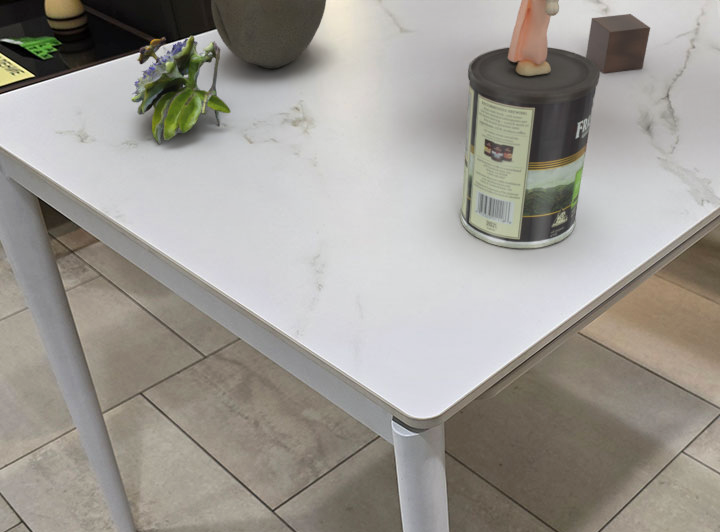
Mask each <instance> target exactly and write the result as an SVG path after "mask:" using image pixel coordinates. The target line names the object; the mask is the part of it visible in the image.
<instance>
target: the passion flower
mask: <svg viewBox="0 0 720 532" xmlns="http://www.w3.org/2000/svg"><path fill="white" fill-rule="evenodd" d="M166 41H167V39H166V37H165V36H163V37H161V38H155V39H151V41H150V43H149V45H145V46H141V47H140V48H139V52H138V53H139V56H138V58H136V61H137V62H138V63H139V65H143V64H145V63H146V62H147V61H149V59H150V58H152V59H154V60H155V62H153V61H152V62H151V63H152V64H149V66H148V68H146V69H145V70H142V71H141V72H142V77H139V78H137V80H136V81H135V82H134V86H135V89H136V90H135V91H134V92H132V95H134V94H135V95H134V96H132V97H131V100H130V101H131V102H132V103H140V104H139V105H138V107H137V114H138V115H144V114H145V113H147V112H148V111H150V110H151V109H153V114H152V116H151V117H152V119H151V132H152V137H153V138H154V139H155V140H156V142H157V143H158V145H161V143H162V142H161V141H162V140H161V136H163V139H164V141H169V140H170V139H172V138H174V137H175V136H176V135H177V134H178V133H181V134H185V133H187V132H188V131H189V130H191V129H192V128H193V127H194V126H195V125H196V124H197V122H198V120H199V118H200V116H201V115H203V116H206V115H207V111H208V110H207V108H210V109H212V110H213V112H214V115H215V119H216V122H217V125H218V126H220V125H221V123H220V113H223V114H230V113H231V109H230V107H229V106H228V105H227V104H226V103H225V102H224V100H222V99H221V98H220V97H219V96H217V95H218V93H217V88H216V87H217V78H218V69H219V62H220V59H221V48H220V47H219V45H217V43H216V41H215V40H213V41H211V42H210V43H209V44H208V46H205V47H204V48H203V47H202V51H203V52H200V53H198V51H197V46H198V41H196V40H195V37H194V35H190V36H189V38H185V39H184V41H183V42H182V41H177V42H176V43H174V44H172V47H171V50H167V51H166V53H165V55H160V57H159V56H158V55H157V54H156V53H157V52H158V51H159V50H160V48H161V47H162V46H163V45H164V44H165V43H166ZM213 59H215V63H214V68H213V69H214V71H213V77H212V84H211V86H210V88H209V90H208V91H207V90H204V89H200V88H199V86H198V77H199V75H200V70H201V67H203V65H204V64H205V63H209V64H210V63H212V61H213ZM185 76H186V77H185ZM219 112H220V113H219ZM162 132H163V133H162Z"/></svg>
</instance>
